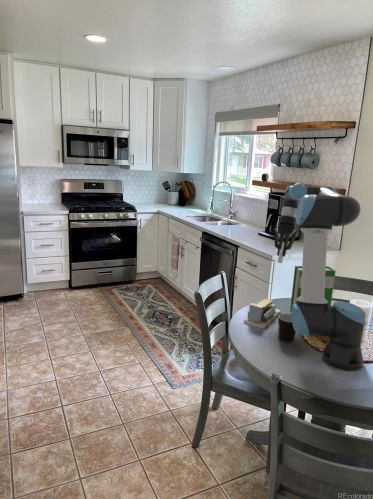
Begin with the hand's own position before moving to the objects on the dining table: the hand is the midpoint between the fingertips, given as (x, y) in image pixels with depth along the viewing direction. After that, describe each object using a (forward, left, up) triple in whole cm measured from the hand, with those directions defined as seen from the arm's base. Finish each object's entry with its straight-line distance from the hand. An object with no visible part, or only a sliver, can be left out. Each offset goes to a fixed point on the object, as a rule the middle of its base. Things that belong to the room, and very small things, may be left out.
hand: (279, 262), depth 192 cm
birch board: (-13, +1, -26) cm, 29 cm away
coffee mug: (-26, -16, -26) cm, 40 cm away
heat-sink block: (-14, +1, -24) cm, 28 cm away
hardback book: (+7, -16, -26) cm, 31 cm away
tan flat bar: (-6, +1, -19) cm, 20 cm away
